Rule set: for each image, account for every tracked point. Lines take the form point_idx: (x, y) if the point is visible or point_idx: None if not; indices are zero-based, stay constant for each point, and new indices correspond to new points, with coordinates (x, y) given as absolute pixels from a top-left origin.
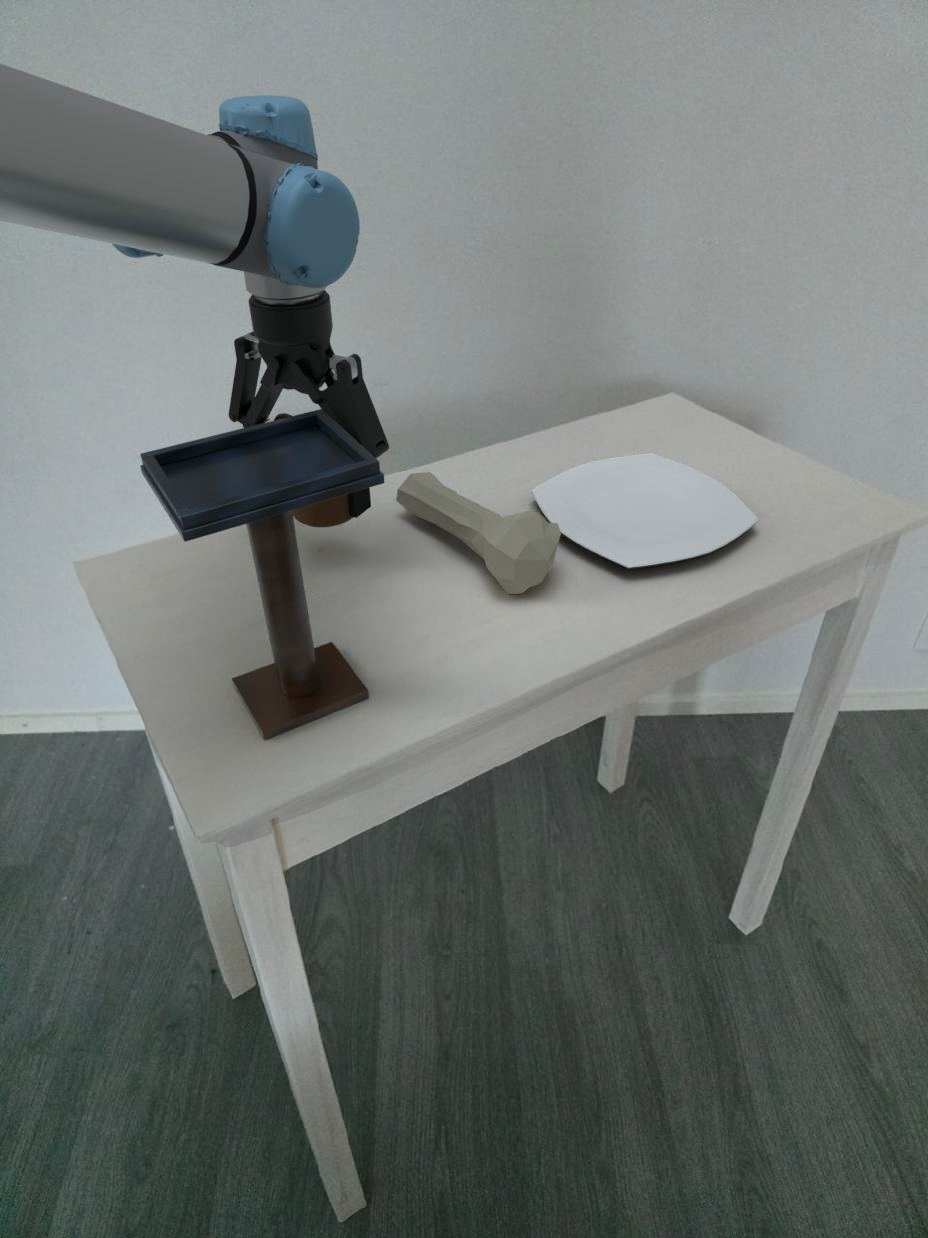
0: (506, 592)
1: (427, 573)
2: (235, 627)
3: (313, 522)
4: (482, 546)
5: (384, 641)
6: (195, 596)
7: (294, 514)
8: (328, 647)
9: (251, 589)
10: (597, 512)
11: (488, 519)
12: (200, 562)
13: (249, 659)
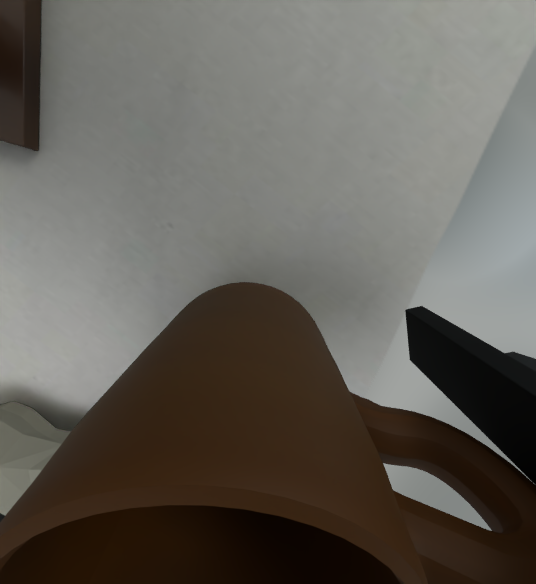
0: (16, 402)
1: (118, 367)
2: (193, 62)
3: (199, 295)
4: (16, 448)
5: (13, 222)
6: (325, 65)
7: (254, 284)
8: (11, 130)
9: (267, 158)
10: None
11: (6, 502)
12: (403, 142)
13: (97, 20)
